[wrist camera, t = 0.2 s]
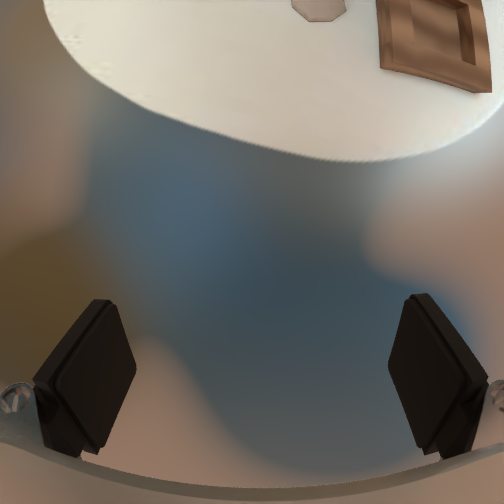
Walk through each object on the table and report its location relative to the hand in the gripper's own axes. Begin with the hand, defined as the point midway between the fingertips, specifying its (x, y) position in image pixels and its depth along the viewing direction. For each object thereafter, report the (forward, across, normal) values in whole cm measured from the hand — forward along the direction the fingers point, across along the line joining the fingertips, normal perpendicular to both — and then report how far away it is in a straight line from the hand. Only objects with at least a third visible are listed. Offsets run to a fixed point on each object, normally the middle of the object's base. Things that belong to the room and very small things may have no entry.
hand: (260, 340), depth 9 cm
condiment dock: (+31, -24, -22) cm, 45 cm away
